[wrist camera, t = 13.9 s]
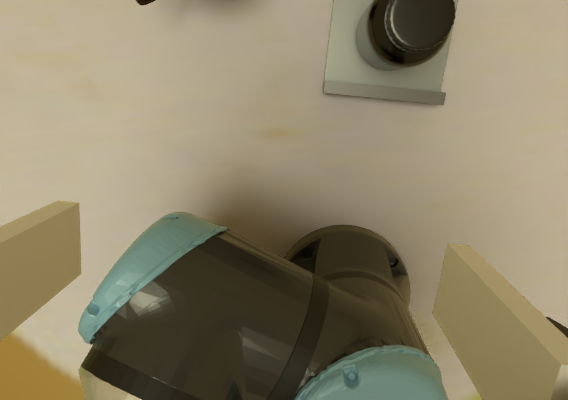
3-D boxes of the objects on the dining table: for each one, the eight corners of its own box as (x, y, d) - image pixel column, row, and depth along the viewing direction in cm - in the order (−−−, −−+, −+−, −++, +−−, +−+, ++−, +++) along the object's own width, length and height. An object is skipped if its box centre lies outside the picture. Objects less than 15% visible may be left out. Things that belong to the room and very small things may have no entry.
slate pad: (436, 104, 44) (443, 105, 41) (322, 92, 44) (323, 92, 41) (461, -26, 40) (470, -33, 38) (338, -38, 41) (340, -46, 38)
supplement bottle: (390, -18, 40) (425, -61, 29) (438, 33, 41) (491, 11, 30) (340, 37, 42) (355, 18, 30) (387, 85, 43) (419, 84, 31)
